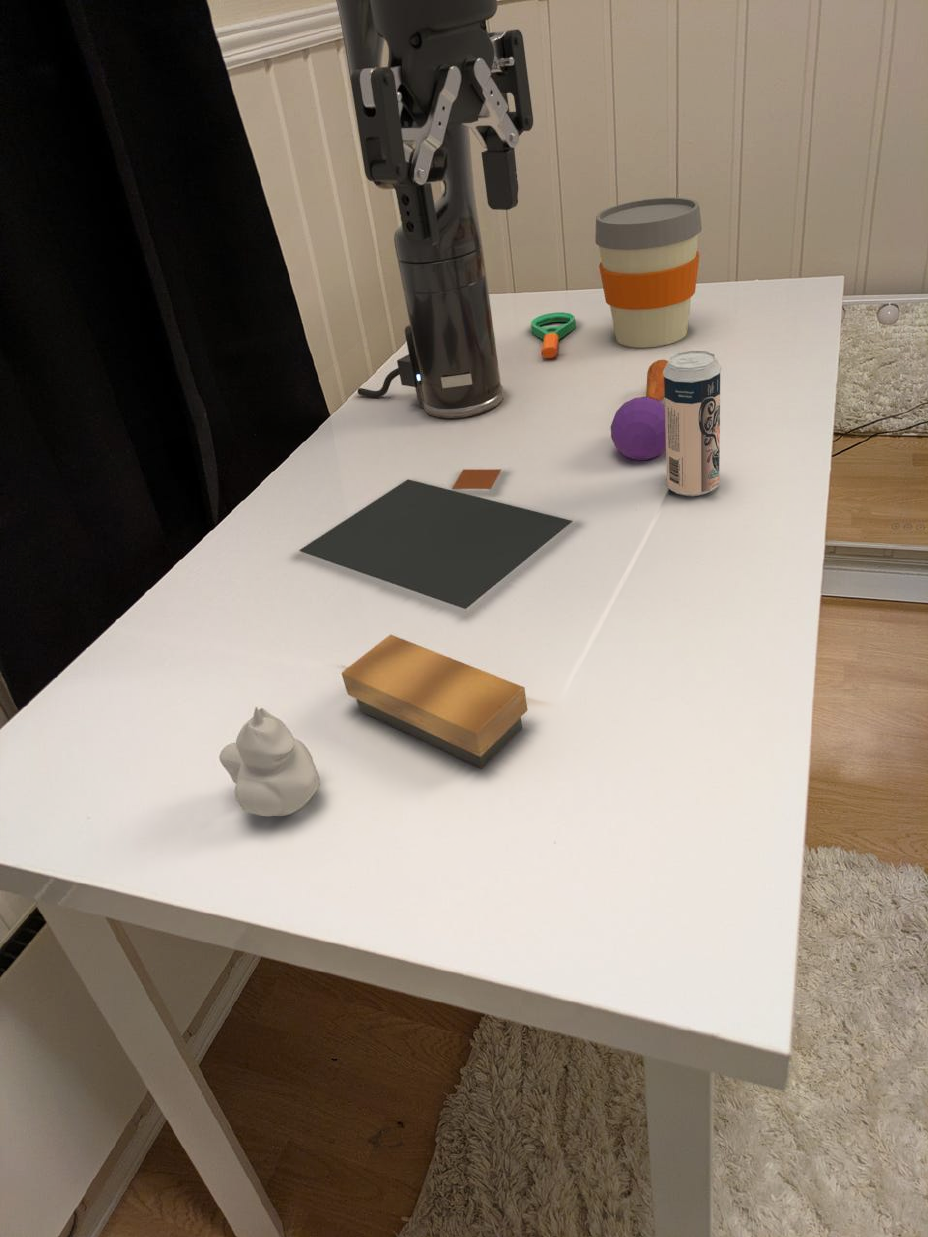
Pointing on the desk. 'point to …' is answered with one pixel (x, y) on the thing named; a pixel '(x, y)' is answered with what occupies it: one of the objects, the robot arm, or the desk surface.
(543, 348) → the toy tennis racket
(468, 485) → the brown square tile
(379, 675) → the brush
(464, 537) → the mat
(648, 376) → the maraca
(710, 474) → the beer can
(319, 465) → the desk surface
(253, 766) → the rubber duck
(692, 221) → the reusable coffee cup
